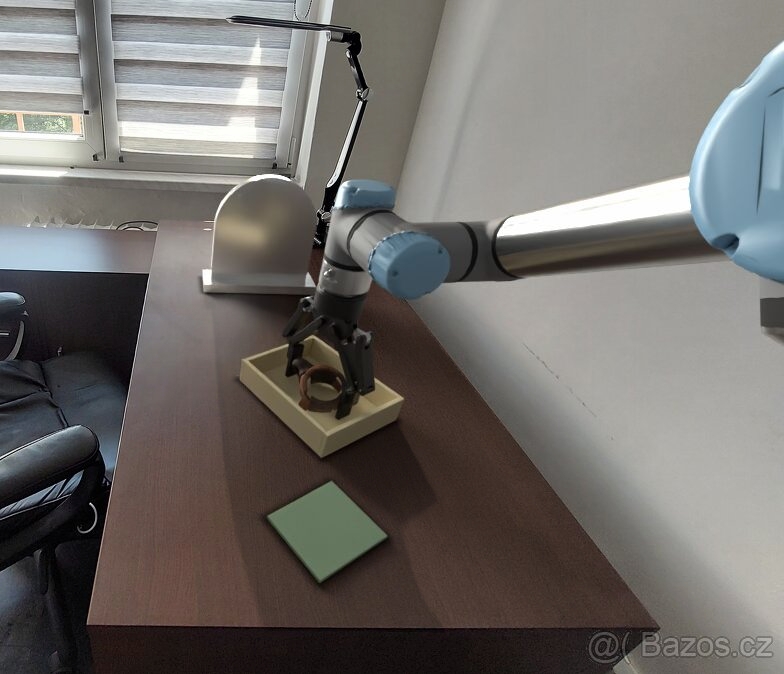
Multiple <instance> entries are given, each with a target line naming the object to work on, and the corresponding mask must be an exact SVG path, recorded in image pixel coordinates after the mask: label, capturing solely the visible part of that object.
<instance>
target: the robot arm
mask: <svg viewBox="0 0 784 674" xmlns="http://www.w3.org/2000/svg"><path fill="white" fill-rule="evenodd" d="M396 197H397V193H396V190H395V188H394V186H392V185H390V184H388V183H385V182H382V181H378V180H373V179H351V180H347V181H344V182H343V183H342V184H341V185H340V186H339V187H338V191H337V194H336V198H335V202H334V206H333V207H332V209H331V210H332V212H331V218H330V223H329V227H328V232H327V237H326V242H325V247H324V252H323V257H322V261H321V267H320V272H319V276H318V283H317V285H316V291H315V295H310V296H307V297H304V298H300V299H299V302H298V307H297V308H296V311H295V312H294V313H293V315H292V317H291V318H290V320H288V322H287V324H286V325H285V326H284V328H283V329H282V331H281V337H282V338H283V339H285V338H286V341H287V344H289V345H288V351H287V358H288V363H287V368H286V373H285V376H286V377H287V378H288V377H291V376H293V375H296V372H295V370H294V369H293V366H292V362H293V361H294V359H296V358H297V357H302V355H303V351H304V346H305V345H304V344H302V343H301V344H299V343H300V342H302V341H304V340H305V339H306V338H308V337H310V336H312V335H314V334H316V333H318V335H319V336H321V337H323V338H325V339H326V340H327V341H328V342H329V343H331V344H332V345H333V349H334V350H336V351H337V352H338V353H339V357H340V361H341V364H342V368H343V371H344V375H345V378H346V382H347V385H348V386H347V387H344V388H343V391H342V395H341V398H340V402H339V405H338V408H337V412H336V415H335V418H336V419H337V420H340V419H342V418H344V417H346V416H348V415H350V412H351V409H352V406H354V405H356V404H357V403H358V401H359V398H360V395H361V396H364V395H367V394H369V393H371V392H373V391H375V379H374V378H375V369H374V368H375V367H374V355H373V344H374V340H375V333H374V332H373V331H371V330H370V331H367V332H366V331H364V330H362V329H360V328H359V319H360V317H361V316H362V314H363V313H364V309H365V306H366V302H367V297H368V292H369V291H370V288H371V285H372V282H374V283H375V284H376V285H377V286H380V287H381V288H382V289H384V290H386V291H387V292H388V293H390V294H391V295H392V296H393V297H395V298H398V299H400V300H405V301H411V300H418V299H422V297H423V296H425V295H427V294H429V295H430V294H431V293H433V292H435V291H436V290H437V289H438V288H439V287H441V285H442V284H455V283H477V282H479V283H480V282H481V283H482V282H495V283H501V282H514V281H519V280H526V279H529V278H537V277H538V278H539V277H552V276H564V275H575V274H588V273H600V272H612V271H622V270H623V271H627V270H635V269H636V270H637V269H649V268H660V267H672V266H685V265H697V264H708V263H720V262H722V263H723V262H733V263H734V264H735V265H736V266H738V267H741V268H742V269H744V270H745V271H747V272H750V274H751V273H752V274H755V275H757V276H758V280H759V285H758V286H759V319H760V332H761V334H763V335H764V336H766V337H768V338H769V339H771V340H772V341H774V342H775V343H777V344H778V345H780V346H782V347H784V40H782V41H781V42H779V44H777V45H776V46H775V47H774V48H773V49H772V50H771V51H770V52H768V53H767V54H766V55H765V56H764V57H763V58H762V60H761V61H760V64H759V65H758V66H757V67H756V68H755V69H754V70H753V72H751V74H749V76H748V77H747V78H746V79H745V80H744V82H743V83H742V84H741V85H740V86H737V87H735V88H734V89H733V90H731V91H730V92H729V94H728V95H727V96H726V98H724V100H723V102H721V104H720V105H719V107H718V109H716V112H715V113H714V114H713V115H712V118H711V119H710V120H709V122H708V124H707V125H706V128H705V129H704V131H703V133H702V135H701V137H700V139H699V142H698V144H697V146H696V149H695V152H694V155H693V158H692V162H691V166H690V169H689V170H685V171H681V172H677V173H672V174H669V175H665V176H661V177H657V178H653V179H649V180H645V181H641V182H637V183H632V184H630V185H625V186H621V187H617V188H614V189H609V190H605V191H601V192H597V193H593V194H589V195H585V196H582V197H577V198H573V199H569V200H566V201H565V200H564V201H562V202H561V201H560V202H557V203H553V204H549V205H546V206H540V207H537V208H533V209H529V210H525V211H521V212H517V213H516V214H510V215H506V216H502V217H497V218H494V219H488V220H476V221H475V220H474V221H426V222H424V221H423V222H413V221H412V222H411V221H407V220H406V219H404V218H402V217H401V216H400V215H397V213H395V212H394V211H393V210H394V208H395V206H396V204H395V203H396ZM311 314H312V316H313V320H314V321H312V322H311V323H308V325H306V326H305V327H304V328H303V329H301V330H300V328H301V327H302V326H303V325H304V323H305V322H306V320H307V319H308V317H309V316H310V315H311ZM299 330H300V331H299ZM298 331H299V332H298ZM345 341H346V342H345ZM342 342H345V343H342ZM355 382H356V383H355Z"/></svg>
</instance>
